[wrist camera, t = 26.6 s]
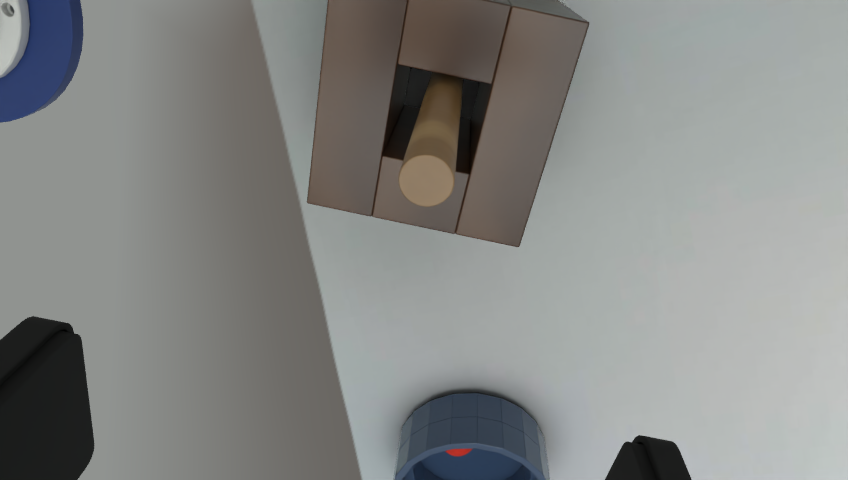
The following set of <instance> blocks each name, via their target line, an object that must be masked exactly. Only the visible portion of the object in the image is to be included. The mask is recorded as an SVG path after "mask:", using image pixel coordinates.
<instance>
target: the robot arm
mask: <svg viewBox="0 0 848 480" xmlns="http://www.w3.org/2000/svg"><path fill="white" fill-rule="evenodd" d="M29 28H30V20H29V9H28V3H27V0H0V78H2V77H4V76H6V75H7V74H8V73H9V72H10V71H12V70H13V69H14V68H15V67H16V66H17V64H18V63H19V61H20V59H21V58H22V56H23V55H24V52H25V49H26V46H27V43H28V38H29ZM93 451H94V438H93V429H92V421H91V413H90V405H89V396H88V388H87V381H86V372H85V364H84V355H83V348H82V340H81V337H80V336H79V335H78V334H74V332H73V328H72V327H71V325H70V324H68V323H64V322H58V321H54V320H48V319H44V318H39V317H34V316H33V317H29V318H27V319H25V320H24V321H22V322H21V323H20V324H19V325H17V326H16V327H15V328H14V329H13V330H11V331H10V332H9V333H8V334H7V335H6V336H5V337H3V338H2V339H1V340H0V480H77V479H78V478H79V477H80V475H81V474H82V473H83V471H84V470H85V468H86V467H87V465H88V464H89V462H90V459H91V457H92V454H93ZM605 480H691V477H690V475H689V472H688V470H687V468H686V465H685V463H684V460H683V458H682V455H681V453H680V451H679V449H678V447H677V445H676V444H675V443H674V442H672V441H667V440H662V439H656V438H651V437H646V436H640V435H639V436H637V437H635V439H634V440H633V442H625V443H624V444H623V446H622V448H621V450H620V451H619V453H618V455H617V457H616V459H615V461H614V463H613V465H612V467H611V469H610V471H609V473H608V475H607V477H606V479H605Z"/></svg>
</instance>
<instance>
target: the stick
mask: <svg viewBox="0 0 848 480" xmlns="http://www.w3.org/2000/svg"><path fill="white" fill-rule="evenodd" d="M462 89H463V78H458V77H454V76H449V75H445V74H440V73H435V72H432V74H431V77H430V80H429V83H428V86H427V89H426V92H425V95H424V99H423V102H422V105H421V108H420V111H419V114H418V117H417V120H416V123H415V126H414V129H413V132H412V135H411V138H410V141H409V144H408V147H407V150H406V153H405V157H404V160H403V163H402V166H401V169H400V172H399V176H398V183H399V187H400V190H401V192H402V193H403V195H404V196H405V197H406V198H407V199H408V200H409V201H410V202H412V203H414V204H416V205H419V206H424V207H430V206H435V205H438V204H440V203H442V202H444V201H445V200H446V199H447V198H448V197H449V196H450V195H451V193H452V191H453V188H454V183H455V171H456V159H457V148H458V136H459V124H460V112H461V100H462Z"/></svg>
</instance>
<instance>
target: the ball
mask: <svg viewBox="0 0 848 480" xmlns="http://www.w3.org/2000/svg"><path fill="white" fill-rule="evenodd" d="M471 450H472V449H451V450H447V451H445V452H446V453H448V454H450V455H452V456H463V455H466V454H467V453H469V452H470V451H471Z"/></svg>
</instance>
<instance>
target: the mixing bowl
mask: <svg viewBox="0 0 848 480" xmlns="http://www.w3.org/2000/svg"><path fill="white" fill-rule="evenodd" d="M451 449H472V450H471V451H470V452H469V453H467V454H466V455H463V456H452V455H450V454H448V453H446V452H445V451H447V450H451ZM393 480H550V476H549V469H548V462H547V454H546V447H545V440H544V437H543V435H542V433H541V431H540V429H539V427H538V425H537V423H536V421H535V420H534V419H533V418H532V417H530V416H529V415H528V414H527V413H526V412H525V411H524V410H523V409H522V408H521V407H519V406H516V405H514V404H512V403H510V402H508V401H506V400H504V399H502V398H499V397H494V396H489V395H484V394H479V393H464V394H451V395H448V396H444V397H441V398H438V399H434V400H431V401H429V402H428V403H426V404H425V405H423V406H421V407H420V408H418V409H417V410H415V411H414V412H413V413H412V415H411V416H410V417H409V419H408V420H407V421H406V423H405V424H404V425H403V427H402V431H401V435H400V439H399V445H398V451H397V458H396V464H395V471H394V478H393Z"/></svg>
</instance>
